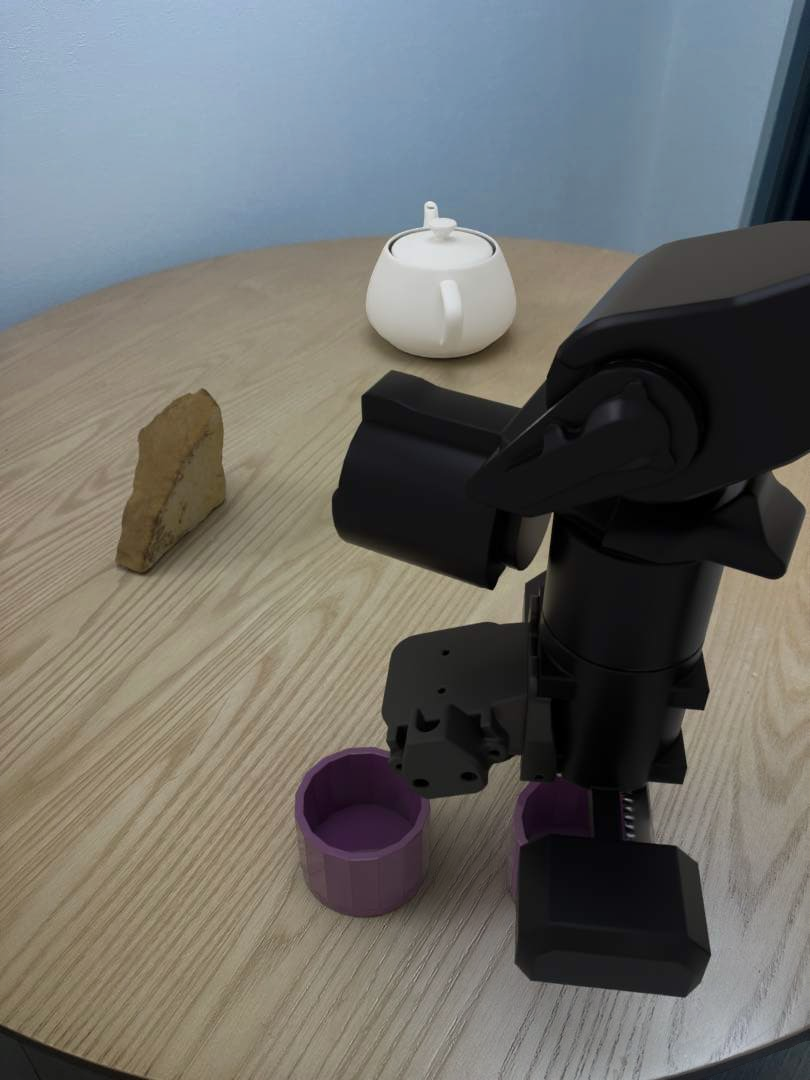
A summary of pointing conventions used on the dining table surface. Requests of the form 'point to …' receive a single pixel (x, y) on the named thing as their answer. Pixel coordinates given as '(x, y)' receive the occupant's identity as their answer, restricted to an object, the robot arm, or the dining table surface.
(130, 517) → the rock
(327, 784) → the purple faceted cup
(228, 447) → the dining table surface
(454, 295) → the teapot
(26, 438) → the dining table surface
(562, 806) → the purple cup
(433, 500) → the robot arm
